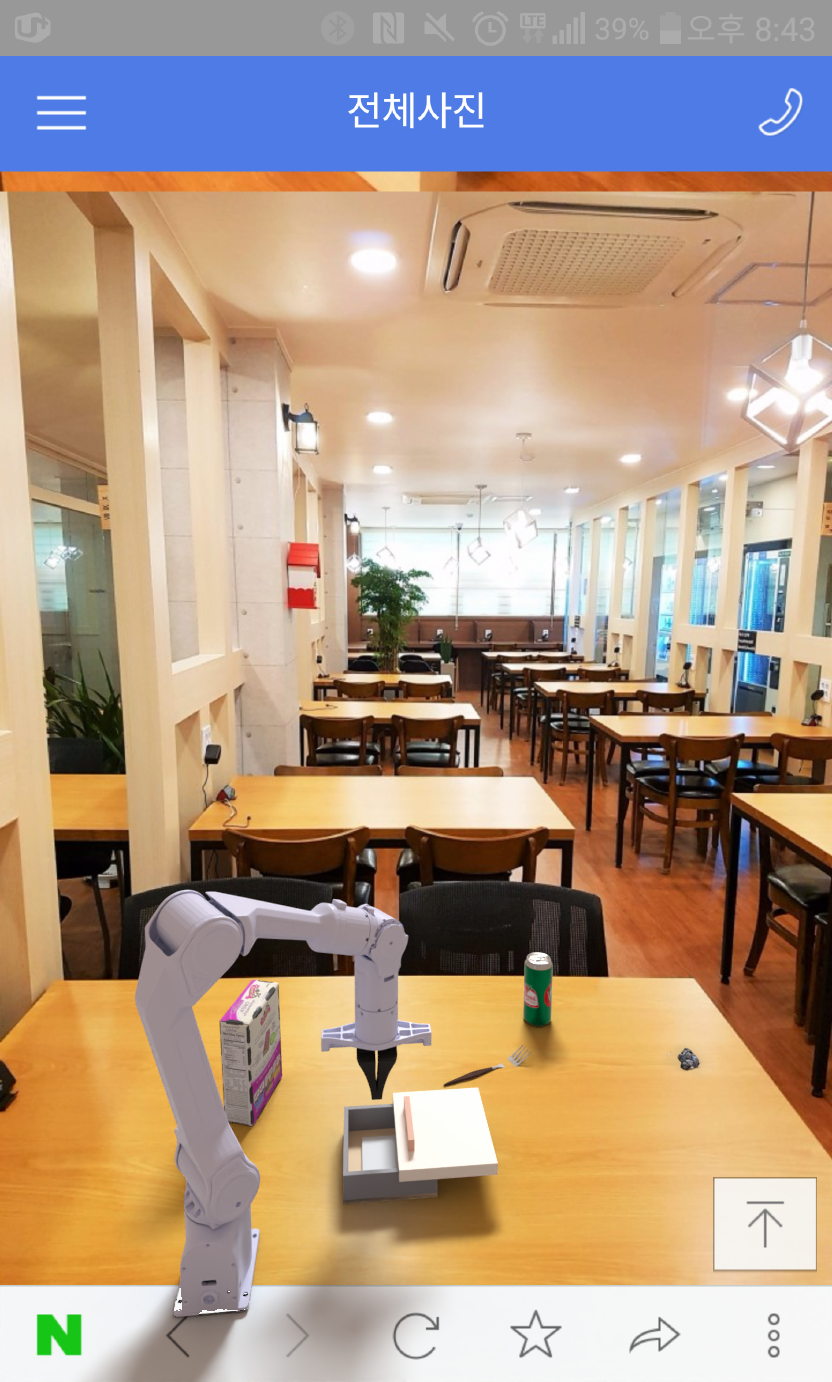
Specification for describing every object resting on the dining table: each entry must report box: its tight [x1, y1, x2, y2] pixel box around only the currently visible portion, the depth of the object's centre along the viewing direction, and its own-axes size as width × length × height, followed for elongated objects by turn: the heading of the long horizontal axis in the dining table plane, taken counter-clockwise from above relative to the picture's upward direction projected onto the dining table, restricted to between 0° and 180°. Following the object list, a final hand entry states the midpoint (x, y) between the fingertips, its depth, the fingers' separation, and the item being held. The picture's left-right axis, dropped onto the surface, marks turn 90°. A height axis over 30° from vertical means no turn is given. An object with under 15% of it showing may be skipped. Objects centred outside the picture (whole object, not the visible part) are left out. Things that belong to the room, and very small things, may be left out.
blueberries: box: [666, 1047, 701, 1071], centre depth 115 cm, size 7×8×2 cm
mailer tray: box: [342, 1103, 438, 1205], centre depth 93 cm, size 12×12×4 cm
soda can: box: [522, 952, 554, 1027], centre depth 125 cm, size 5×5×12 cm
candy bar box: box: [219, 979, 283, 1127], centre depth 104 cm, size 11×5×16 cm, turn 168°
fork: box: [443, 1044, 531, 1087], centre depth 111 cm, size 3×16×2 cm, turn 116°
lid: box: [392, 1087, 499, 1182], centre depth 93 cm, size 14×13×3 cm
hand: (376, 1094), depth 92 cm, fingers closed
